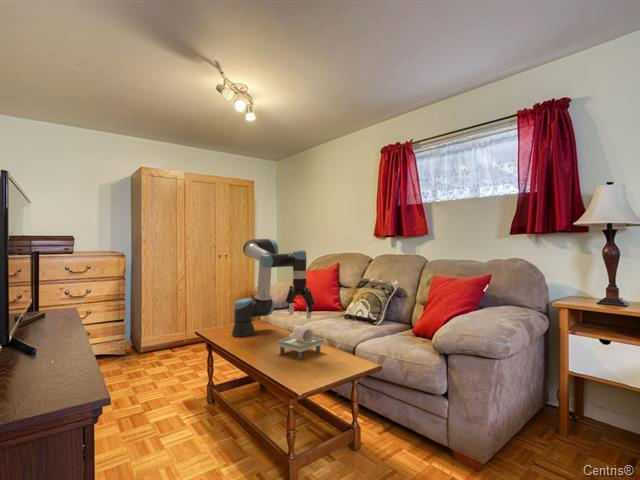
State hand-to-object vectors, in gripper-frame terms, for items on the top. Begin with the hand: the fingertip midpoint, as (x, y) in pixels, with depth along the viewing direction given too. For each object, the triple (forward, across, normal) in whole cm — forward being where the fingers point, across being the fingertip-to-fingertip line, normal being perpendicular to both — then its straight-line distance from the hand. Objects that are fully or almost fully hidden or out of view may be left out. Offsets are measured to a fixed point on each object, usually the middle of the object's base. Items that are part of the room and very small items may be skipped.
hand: (299, 316), depth 190 cm
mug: (+14, 0, 0) cm, 14 cm away
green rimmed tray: (+20, 0, 0) cm, 20 cm away
